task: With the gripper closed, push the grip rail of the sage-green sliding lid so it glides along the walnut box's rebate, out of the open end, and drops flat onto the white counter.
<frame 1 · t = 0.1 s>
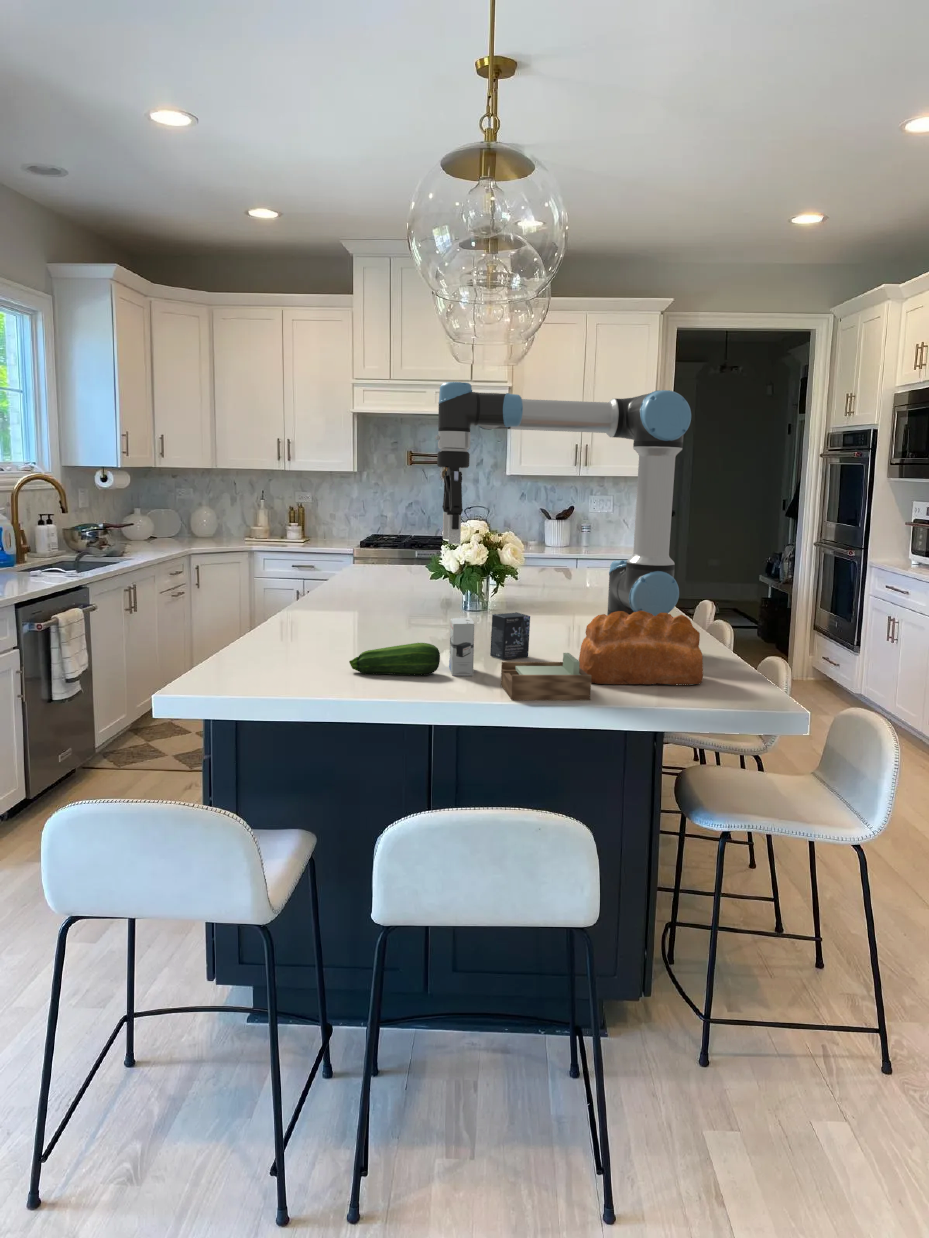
hand: (451, 541, 214), 28 cm above the countertop, fingers open, 13 cm apart
bread: (638, 680, 200), on the countertop
vegetable: (394, 675, 198), on the countertop
ink box: (460, 672, 202), on the countertop
box: (509, 657, 220), on the countertop
pencil box: (544, 692, 185), on the countertop
lid: (548, 675, 185), point 4 cm above the countertop, touching pencil box
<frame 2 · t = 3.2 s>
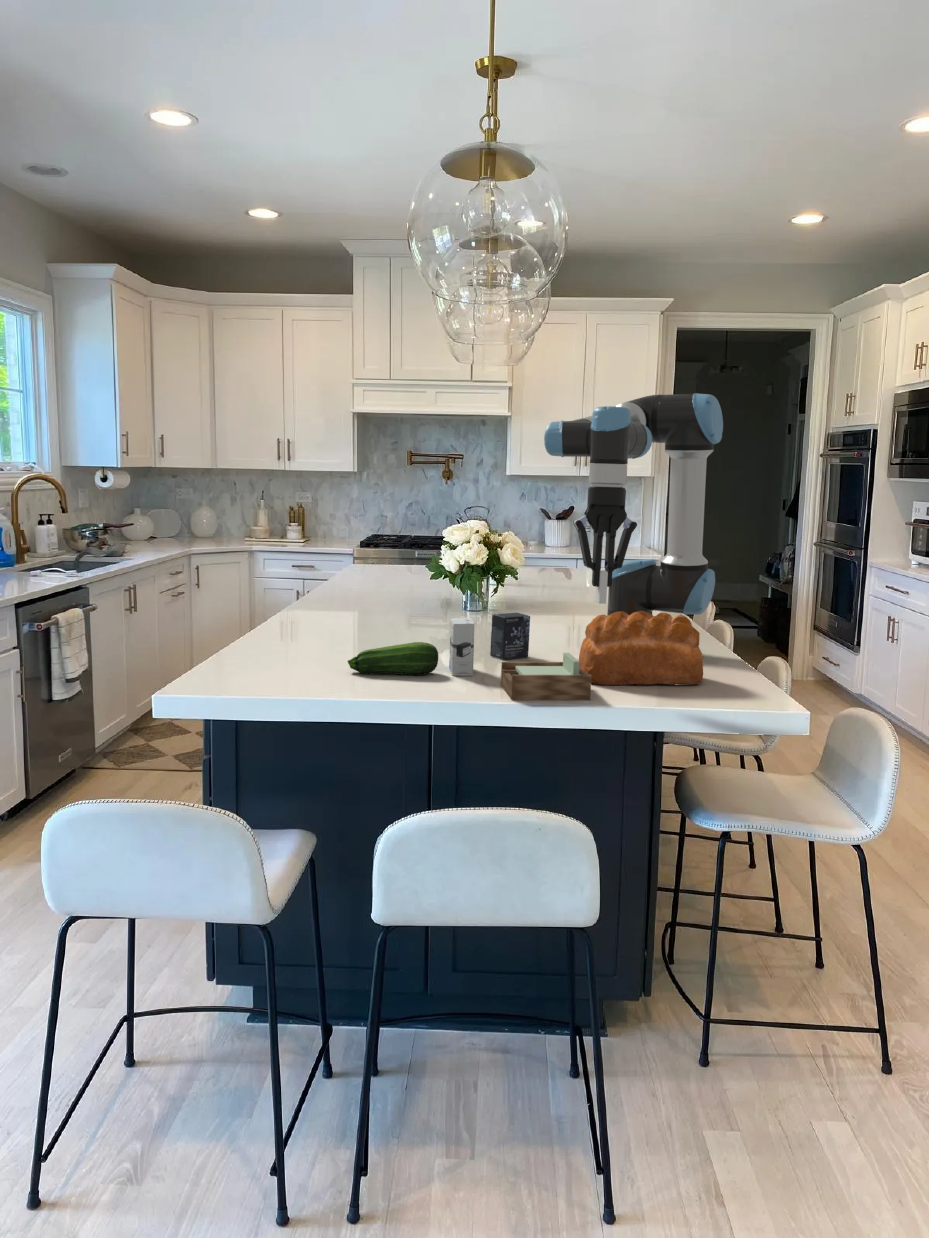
hand: (600, 602, 184), 19 cm above the countertop, fingers closed
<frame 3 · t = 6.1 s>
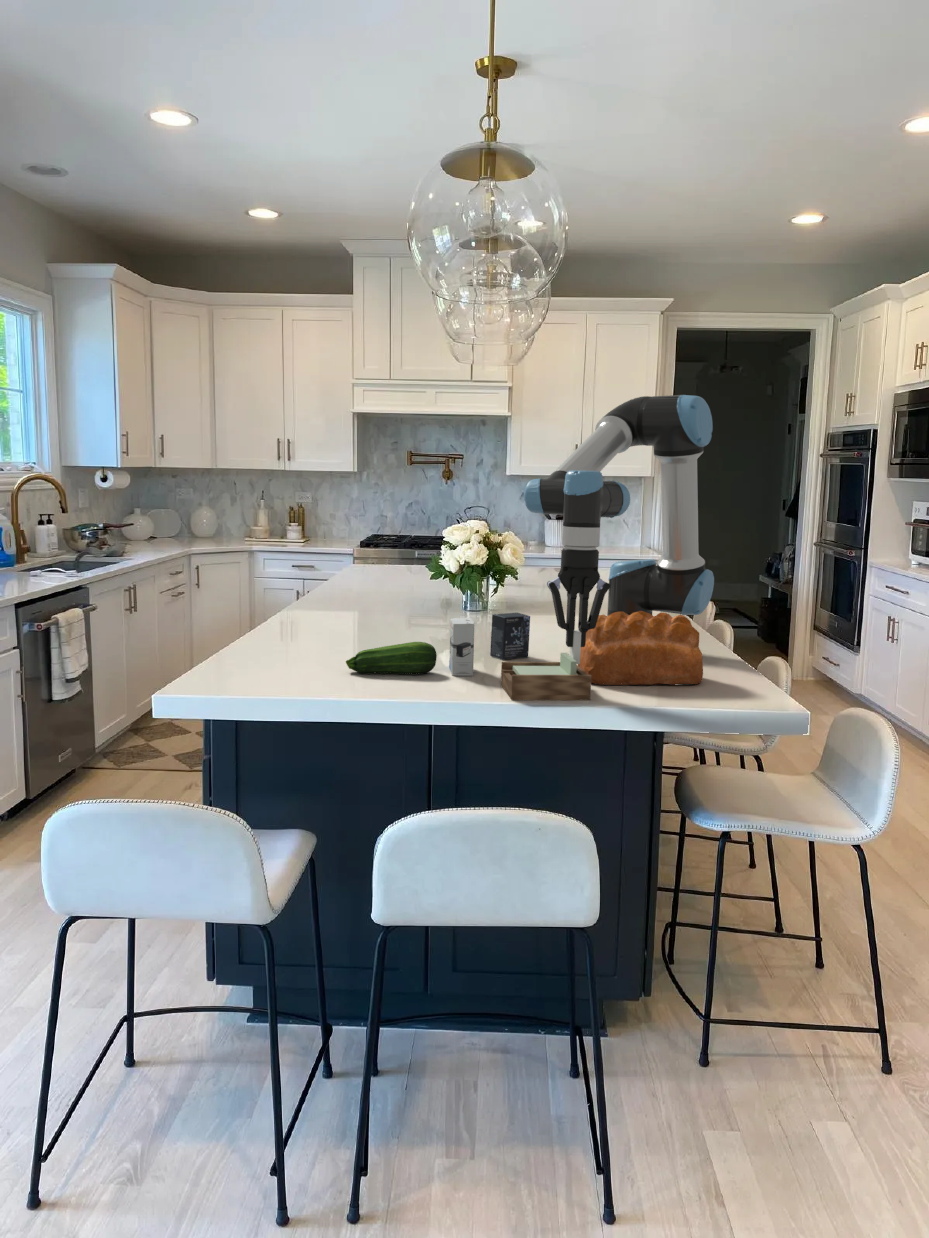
hand: (574, 662, 185), 6 cm above the countertop, fingers closed
lid: (545, 674, 185), point 4 cm above the countertop
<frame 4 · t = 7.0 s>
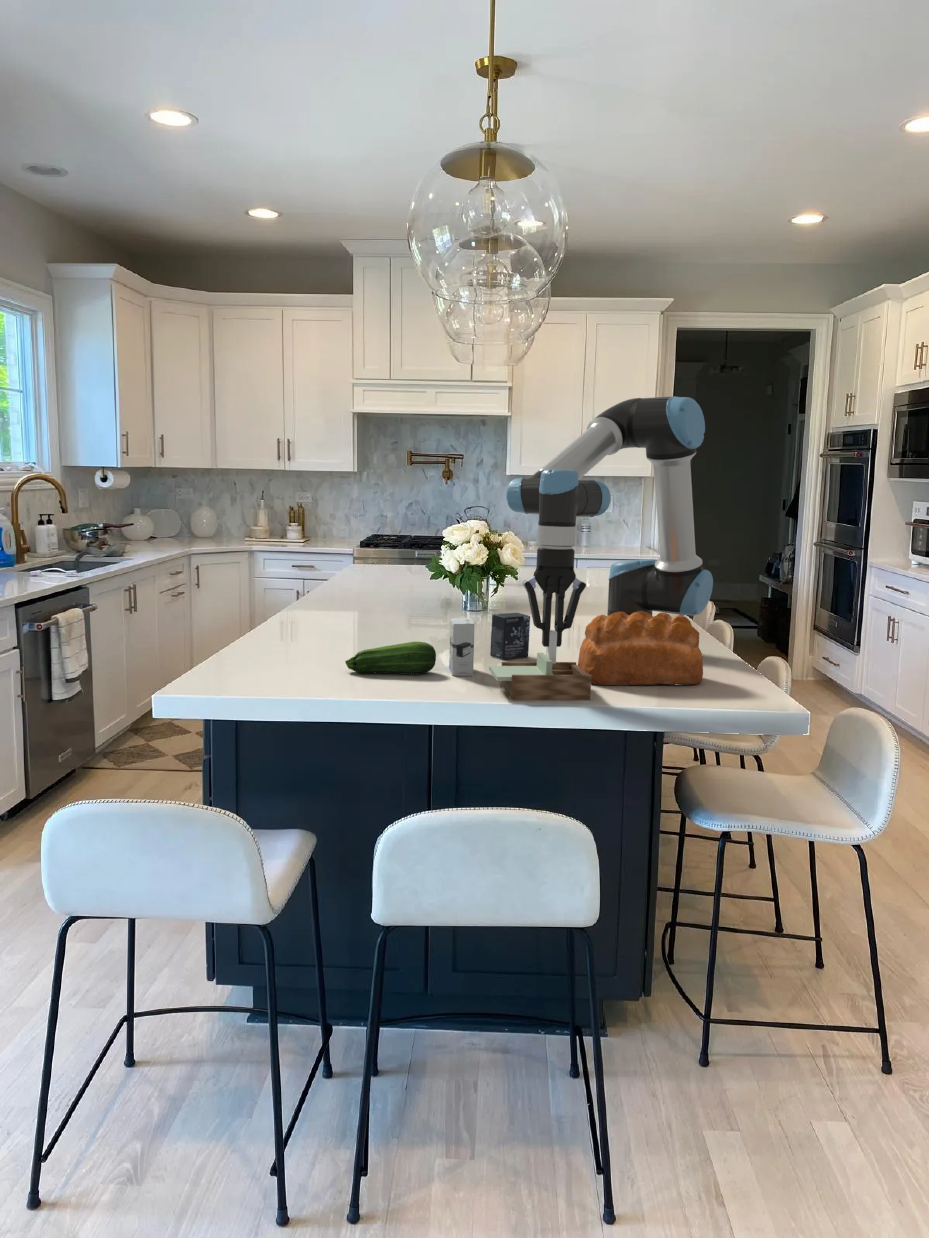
hand: (550, 662, 184), 6 cm above the countertop, fingers closed
lid: (521, 675, 184), point 4 cm above the countertop, touching gripper, pencil box
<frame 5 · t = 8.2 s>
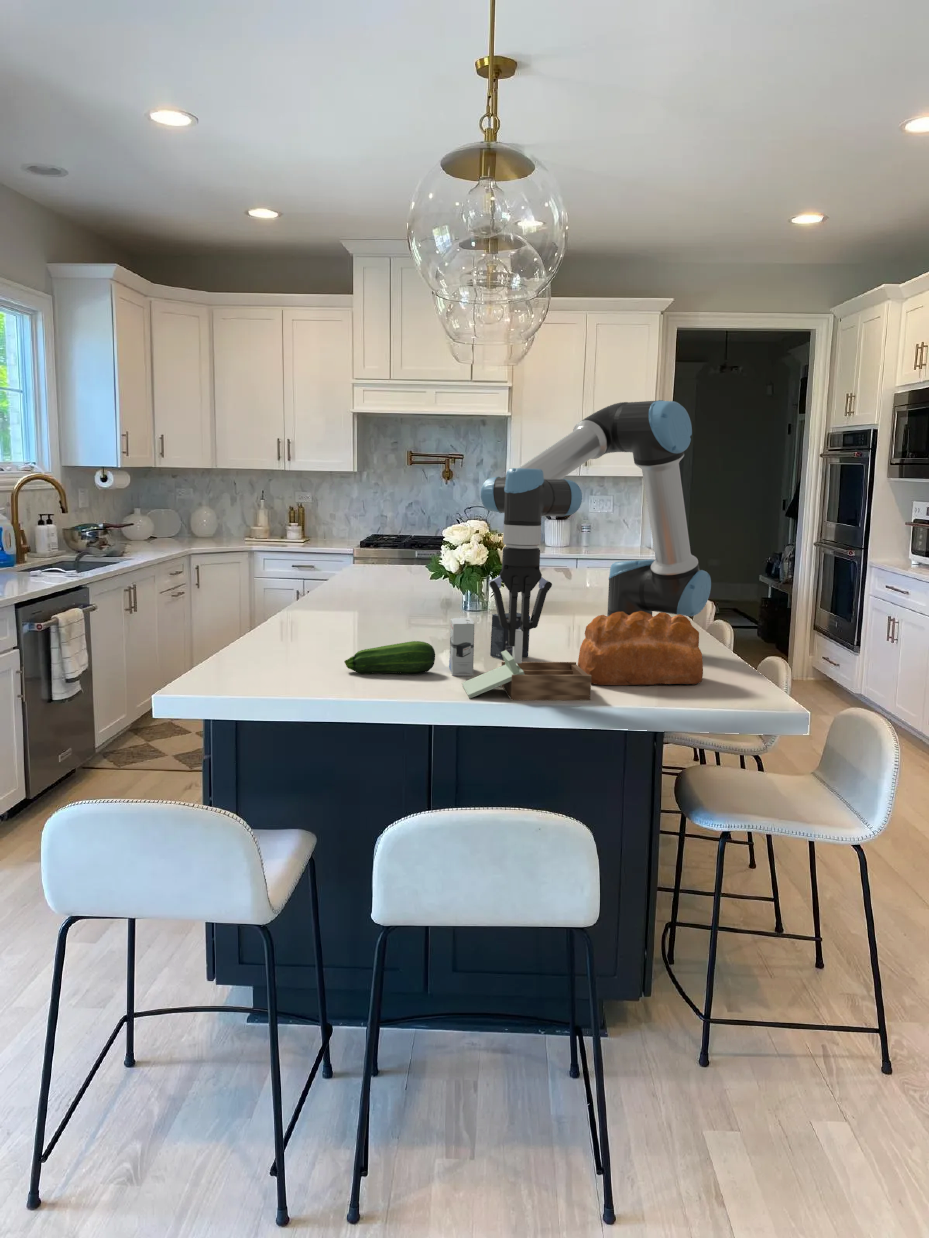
hand: (516, 661, 183), 6 cm above the countertop, fingers closed
lid: (493, 680, 183), point 2 cm above the countertop, tilted 24°, touching gripper
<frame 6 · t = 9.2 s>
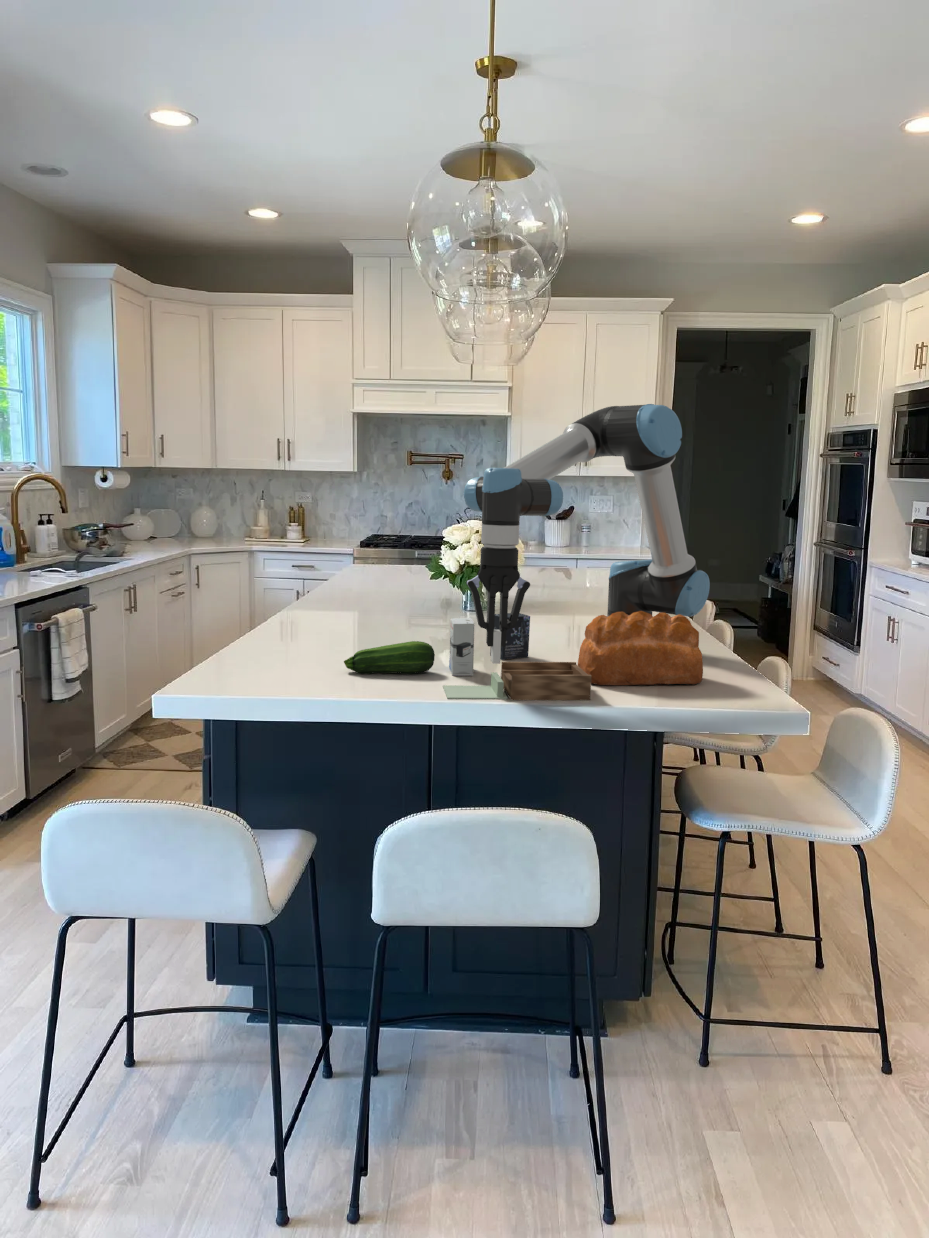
hand: (495, 662, 183), 6 cm above the countertop, fingers closed
lid: (474, 695, 183), on the countertop
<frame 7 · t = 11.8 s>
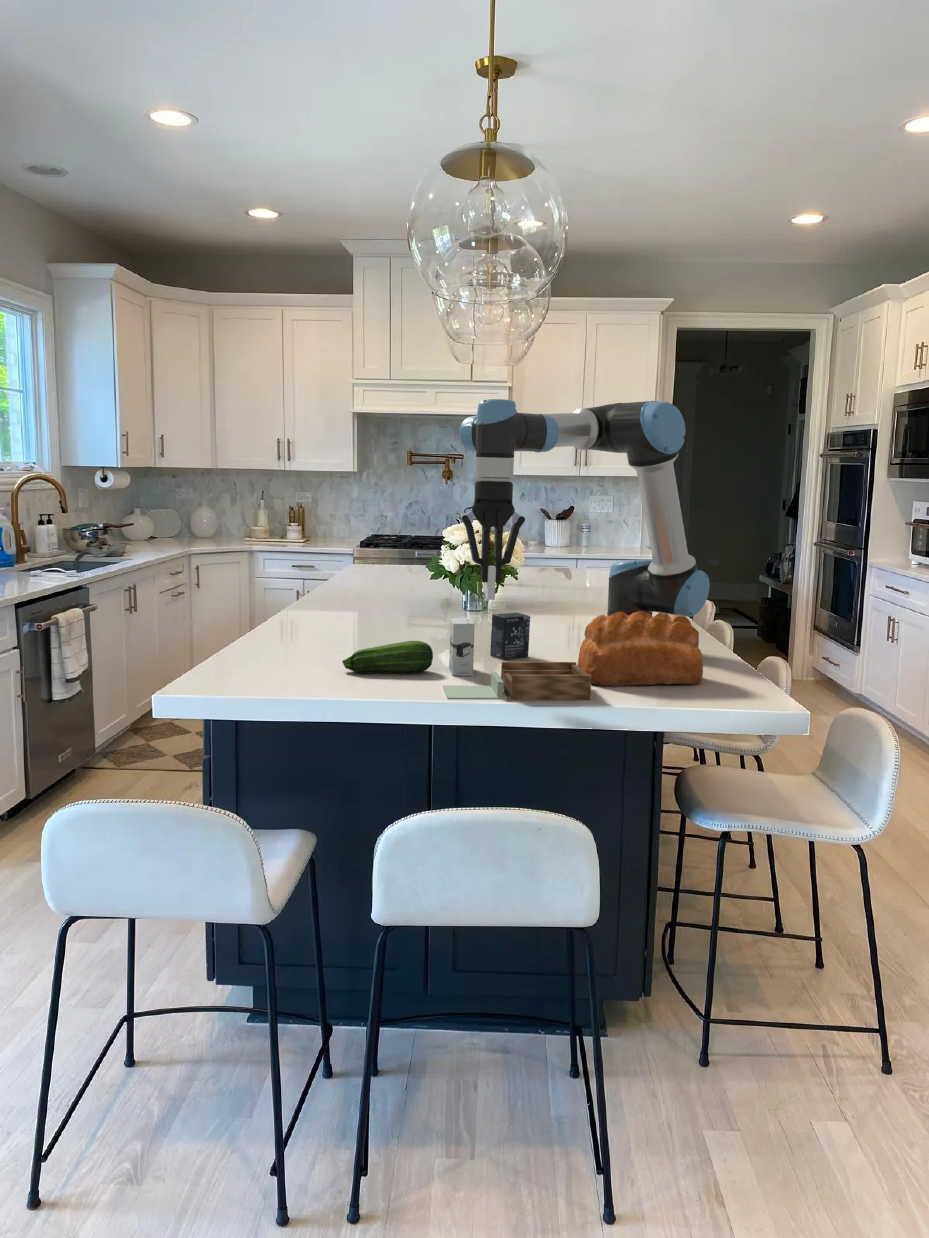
hand: (490, 598, 181), 19 cm above the countertop, fingers closed
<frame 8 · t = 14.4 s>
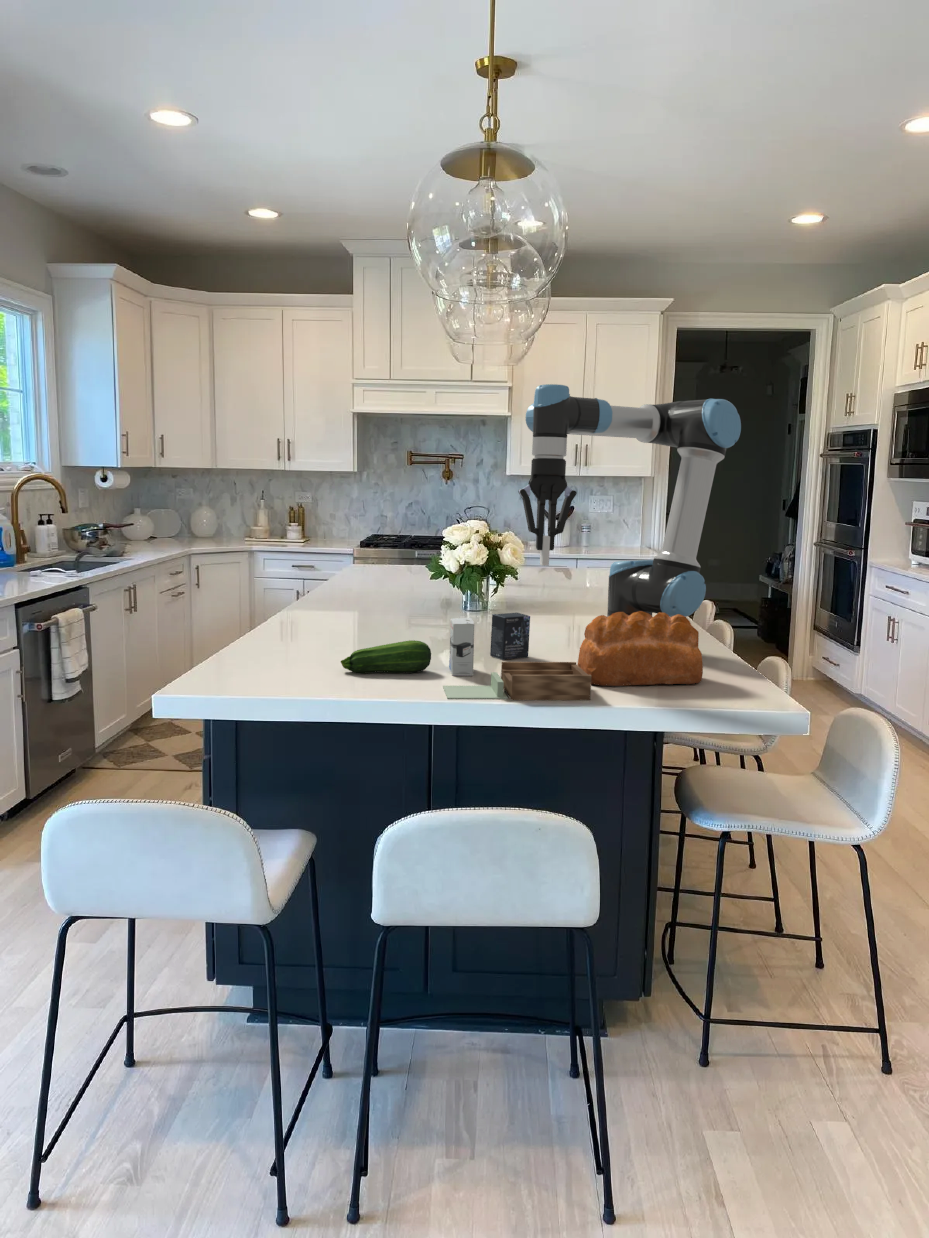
hand: (544, 565, 200), 24 cm above the countertop, fingers closed
at the end: lid inside the target area (3.4 cm from its centre), on the countertop; lid tilted 0° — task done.
